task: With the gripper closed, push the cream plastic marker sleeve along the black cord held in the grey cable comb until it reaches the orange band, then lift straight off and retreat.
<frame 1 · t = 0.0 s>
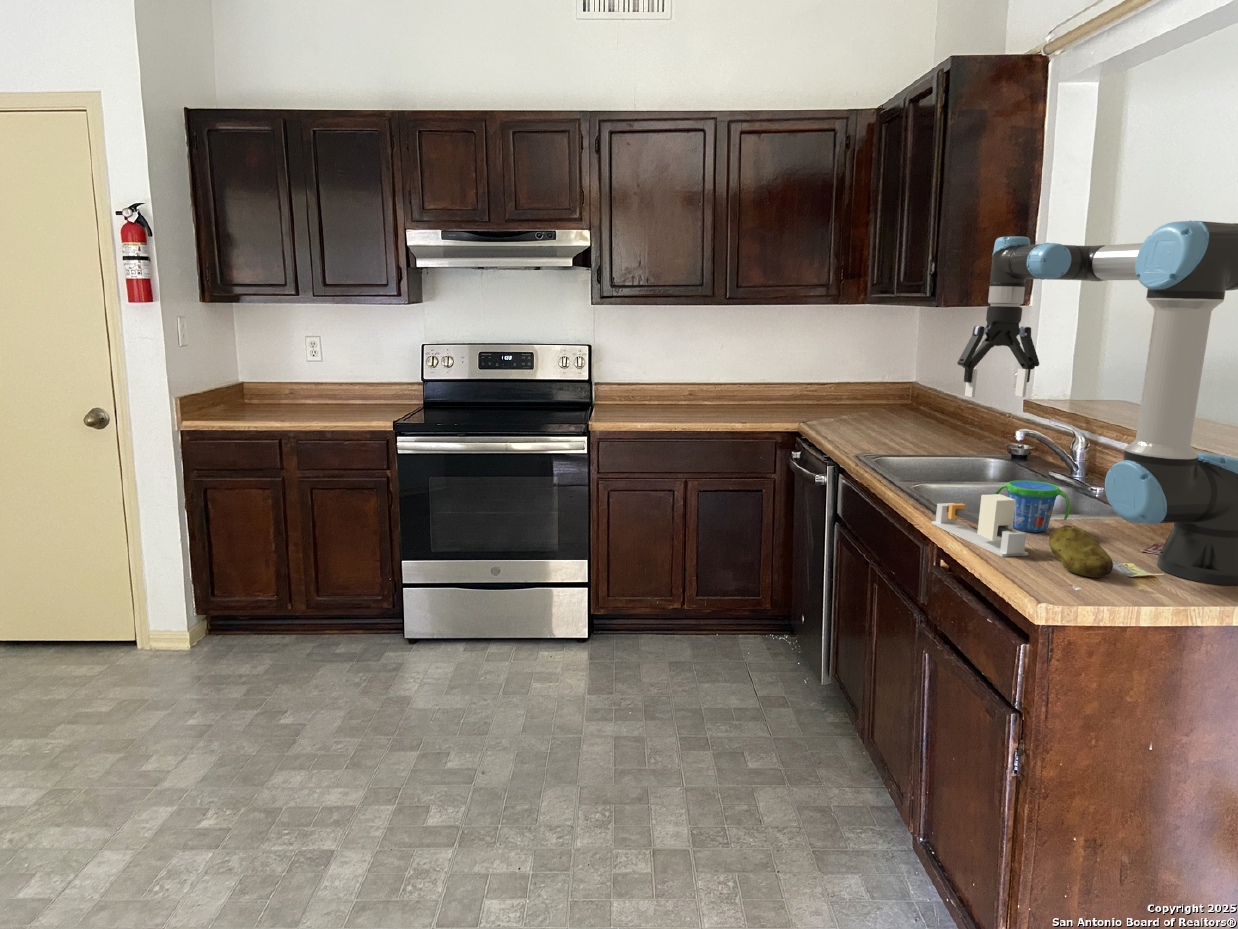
hand: (994, 396, 204), 28 cm above the worktop, fingers open, 13 cm apart
snack cup: (1028, 529, 194), on the worktop
cable comb: (976, 538, 185), on the worktop
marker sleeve: (996, 517, 178), point 6 cm above the worktop, slide at 0.0 cm
potato: (1076, 571, 165), on the worktop
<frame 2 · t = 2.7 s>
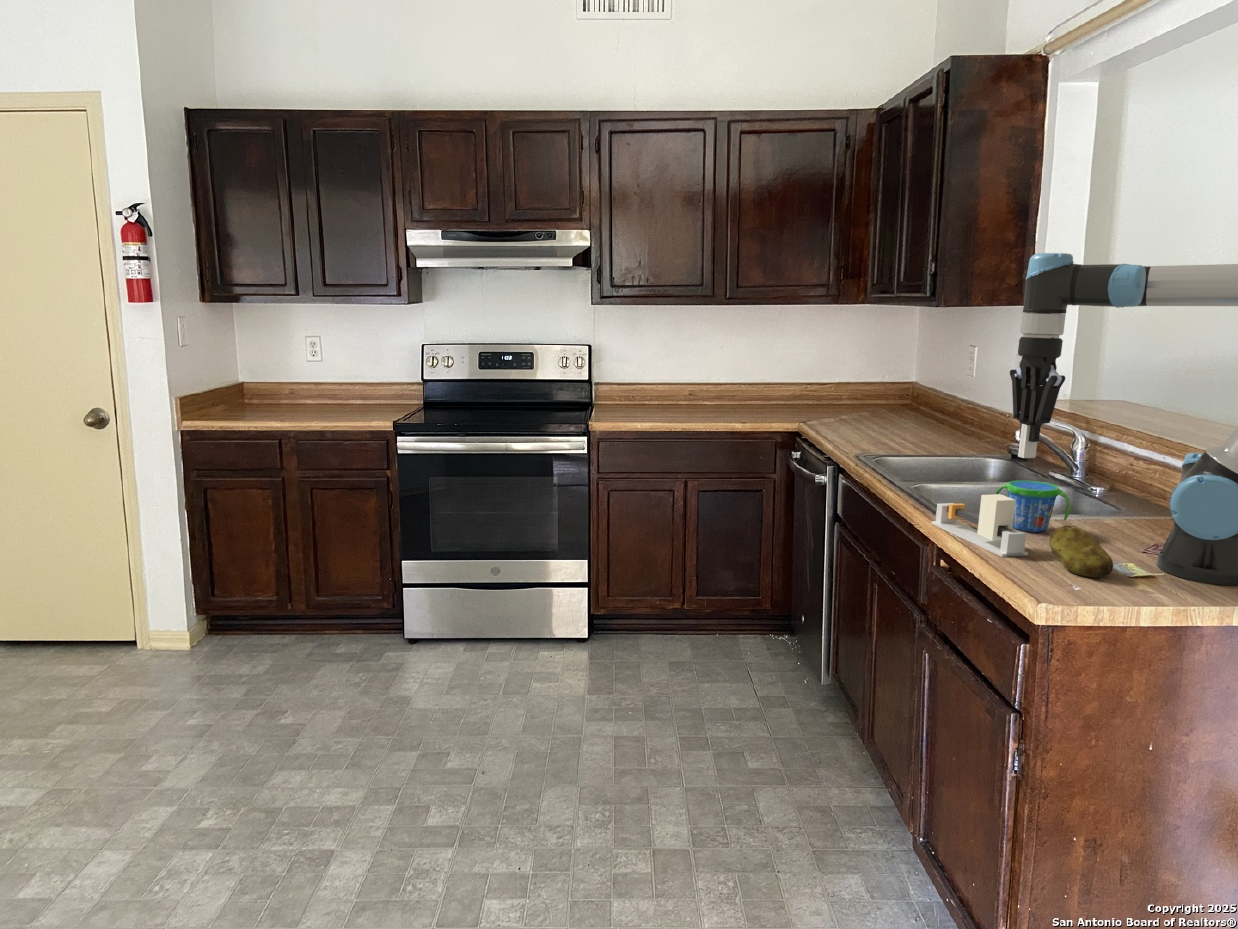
hand: (1026, 457, 169), 20 cm above the worktop, fingers closed
nothing on the worktop moved.
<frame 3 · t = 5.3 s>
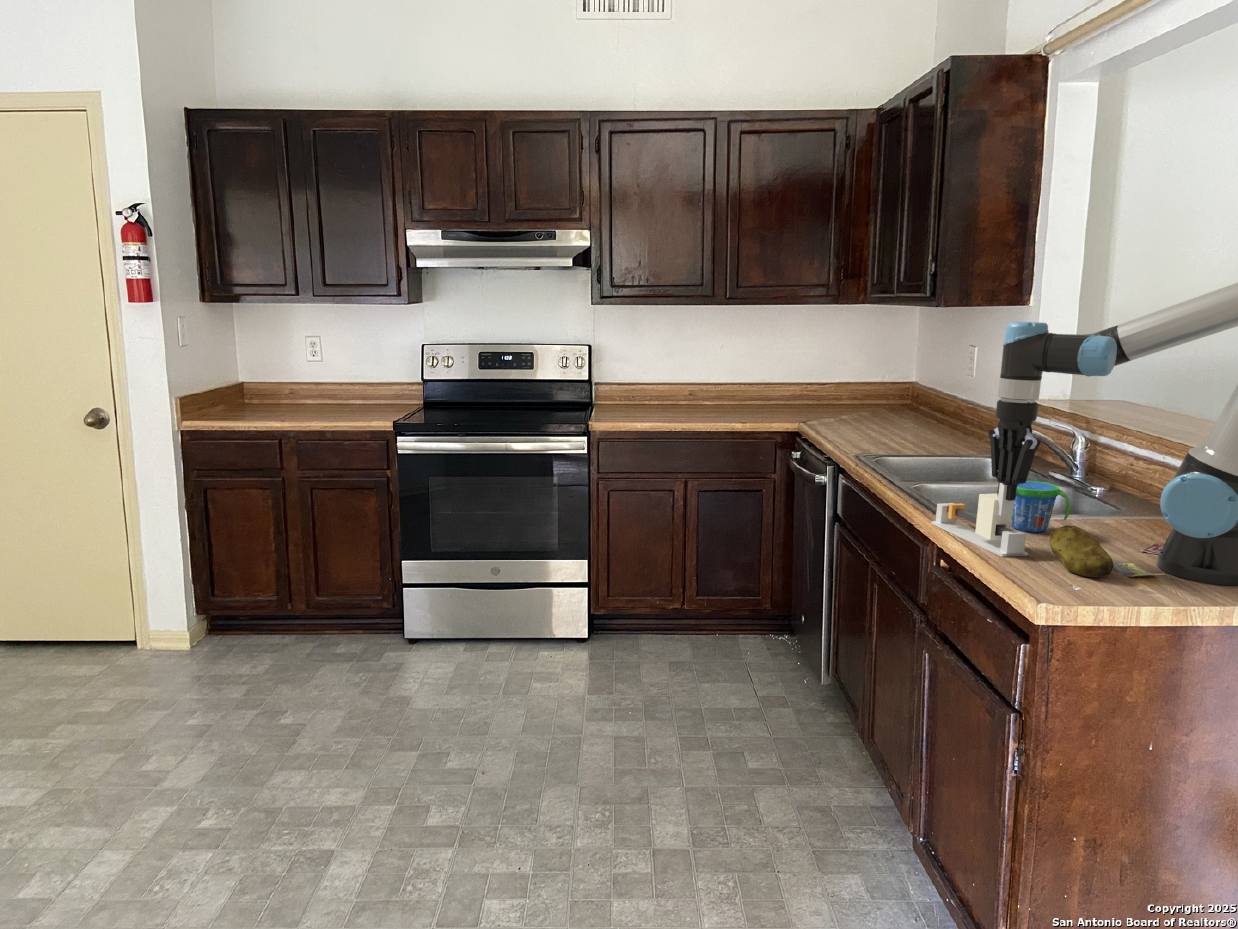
hand: (1004, 514, 176), 8 cm above the worktop, fingers closed
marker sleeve: (993, 516, 179), point 6 cm above the worktop, slide at 0.7 cm, touching gripper
everything else where it was.
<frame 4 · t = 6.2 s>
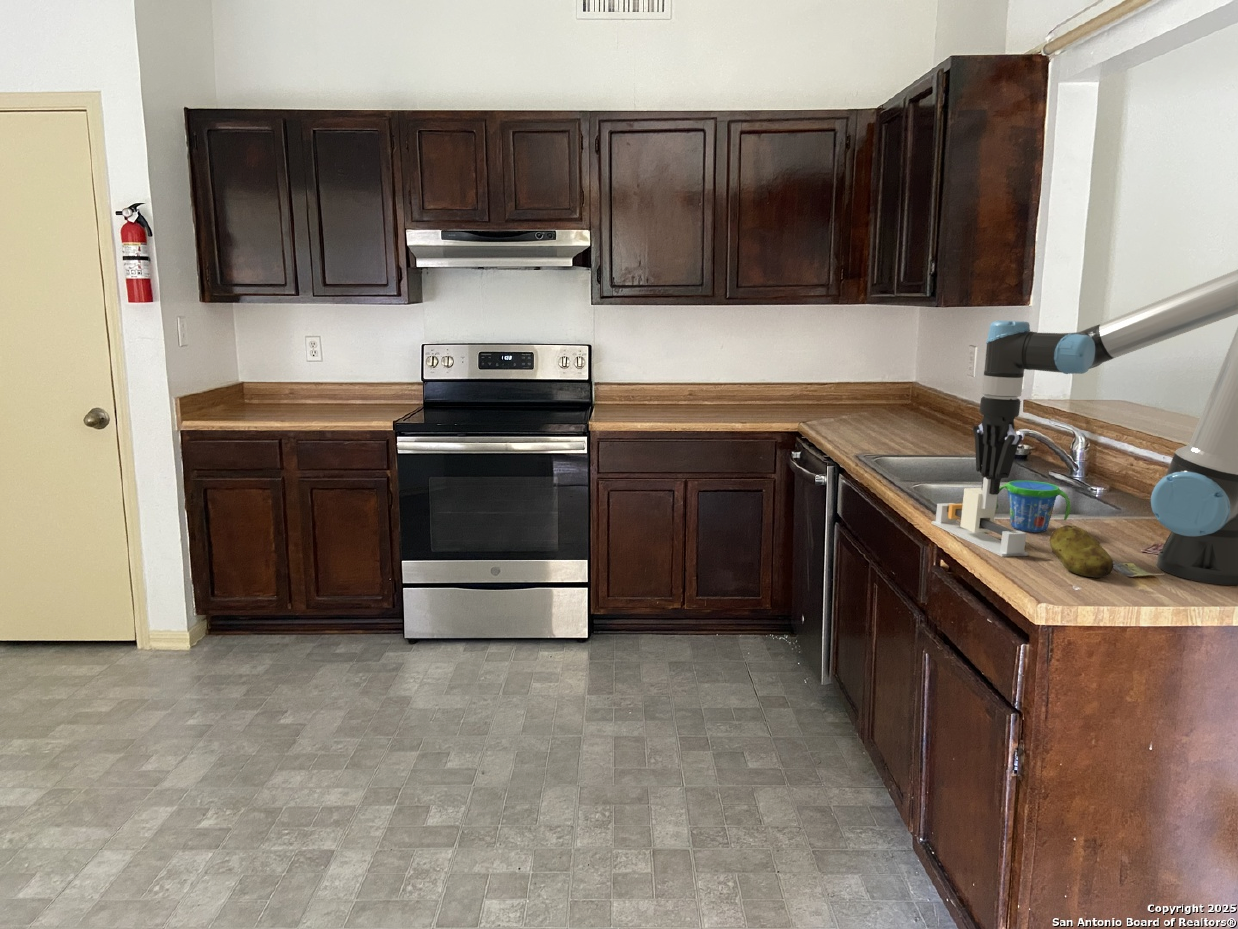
hand: (988, 508, 181), 8 cm above the worktop, fingers closed
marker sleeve: (978, 510, 184), point 6 cm above the worktop, slide at 6.0 cm, touching gripper
everything else where it was.
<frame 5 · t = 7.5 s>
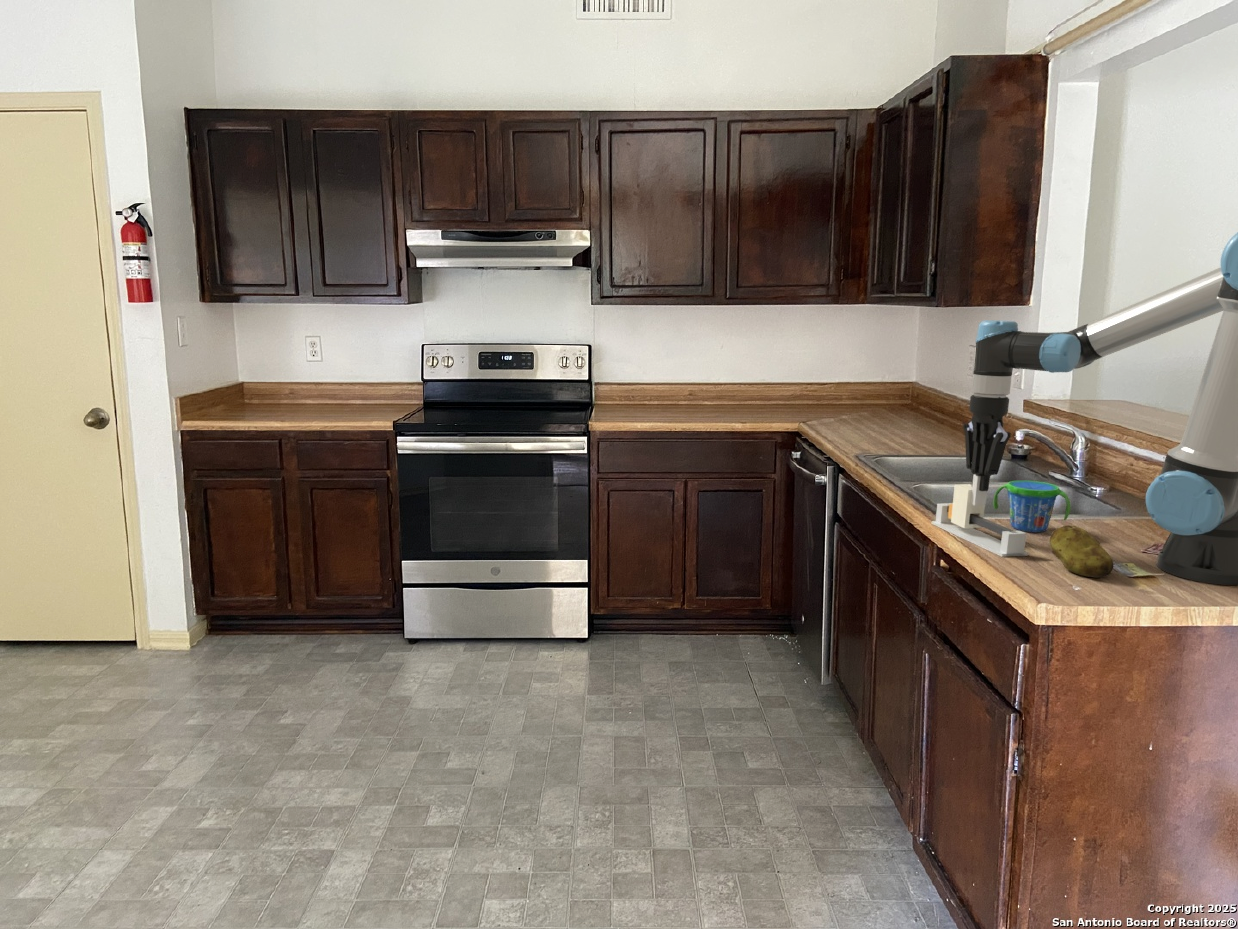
hand: (978, 504, 184), 7 cm above the worktop, fingers closed
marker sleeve: (968, 506, 187), point 6 cm above the worktop, slide at 9.5 cm, touching gripper
everything else where it was.
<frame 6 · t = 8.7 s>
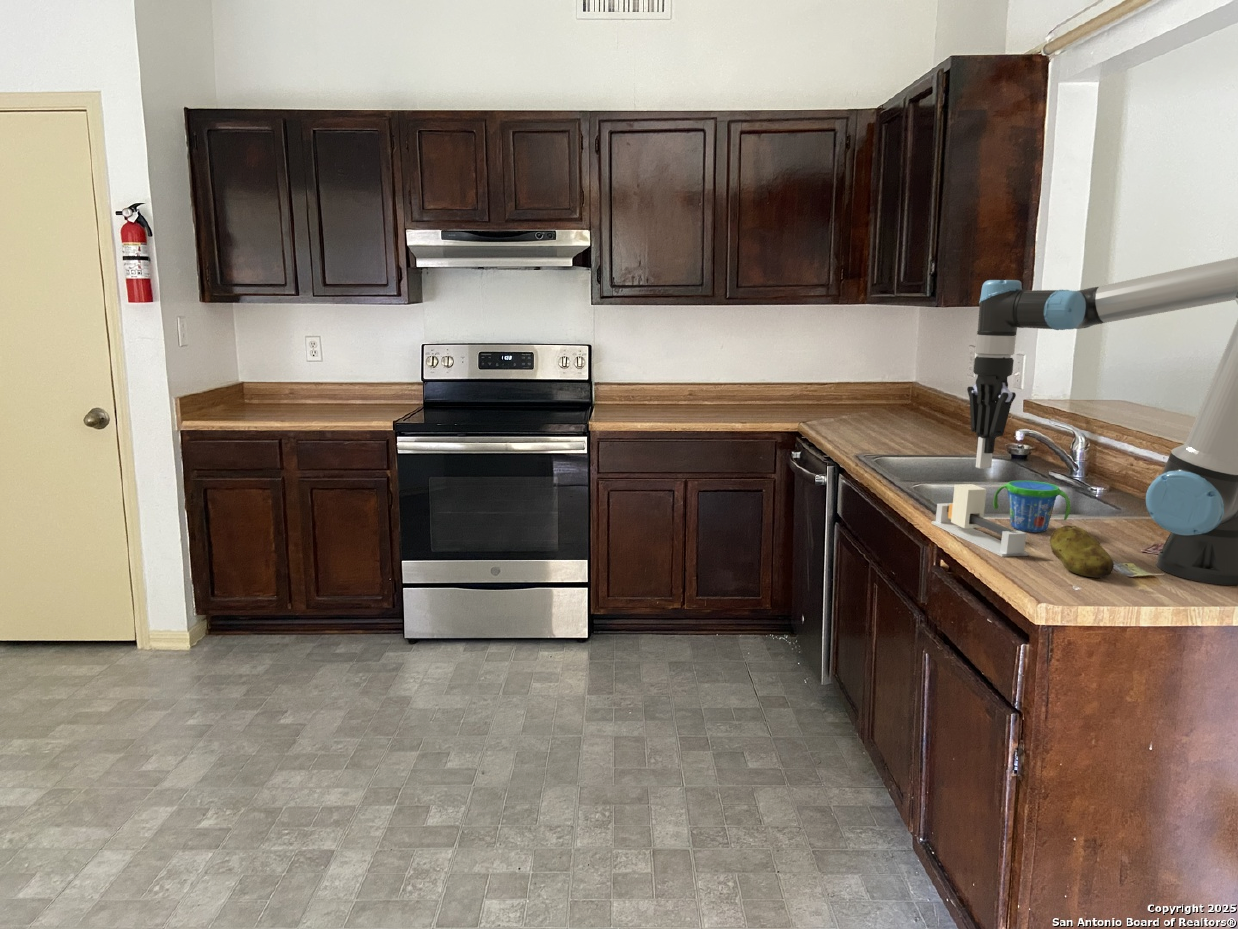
hand: (983, 467, 182), 16 cm above the worktop, fingers closed
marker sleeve: (968, 506, 187), point 6 cm above the worktop, slide at 9.5 cm
everything else where it was.
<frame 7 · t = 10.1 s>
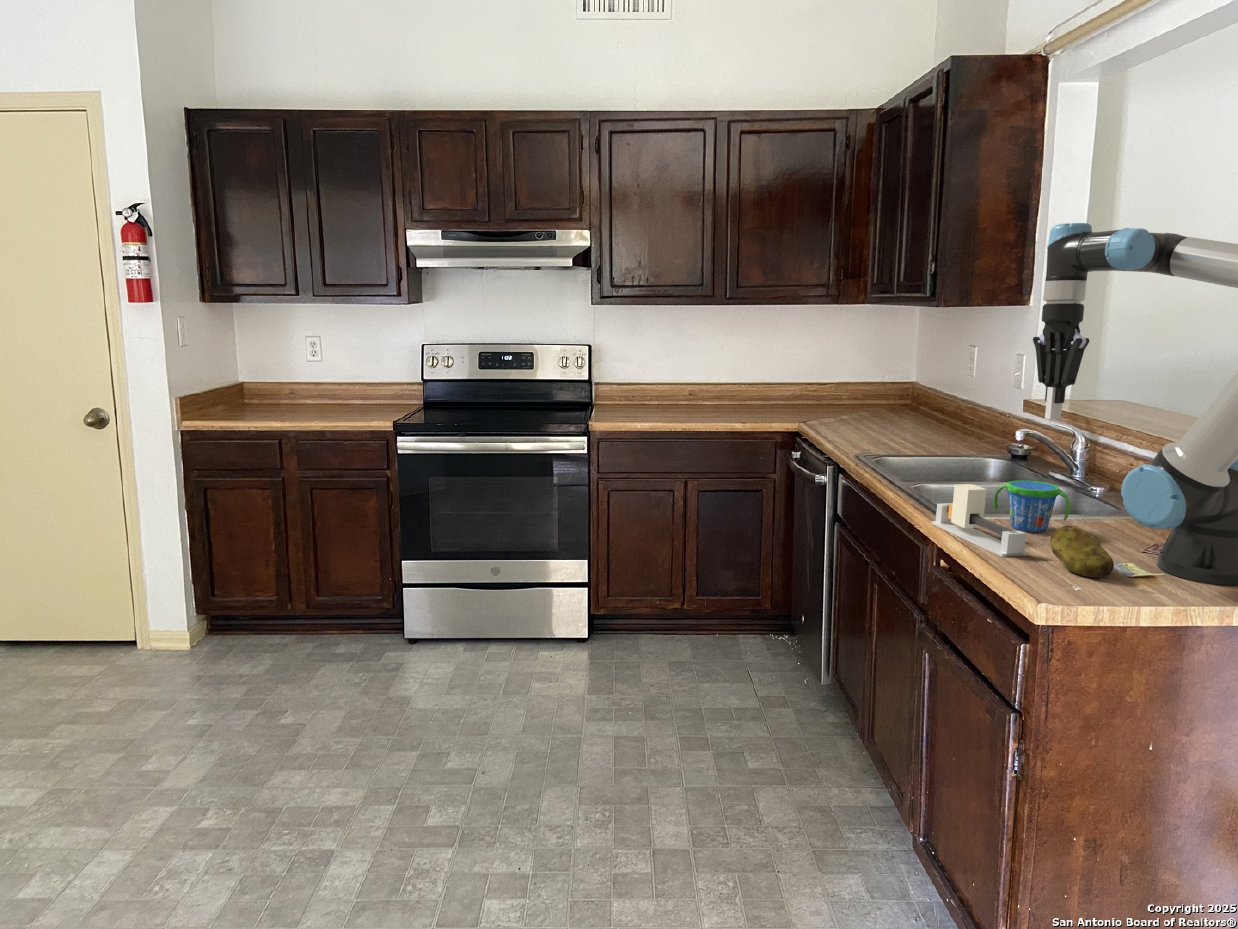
hand: (1052, 418, 178), 27 cm above the worktop, fingers closed
nothing on the worktop moved.
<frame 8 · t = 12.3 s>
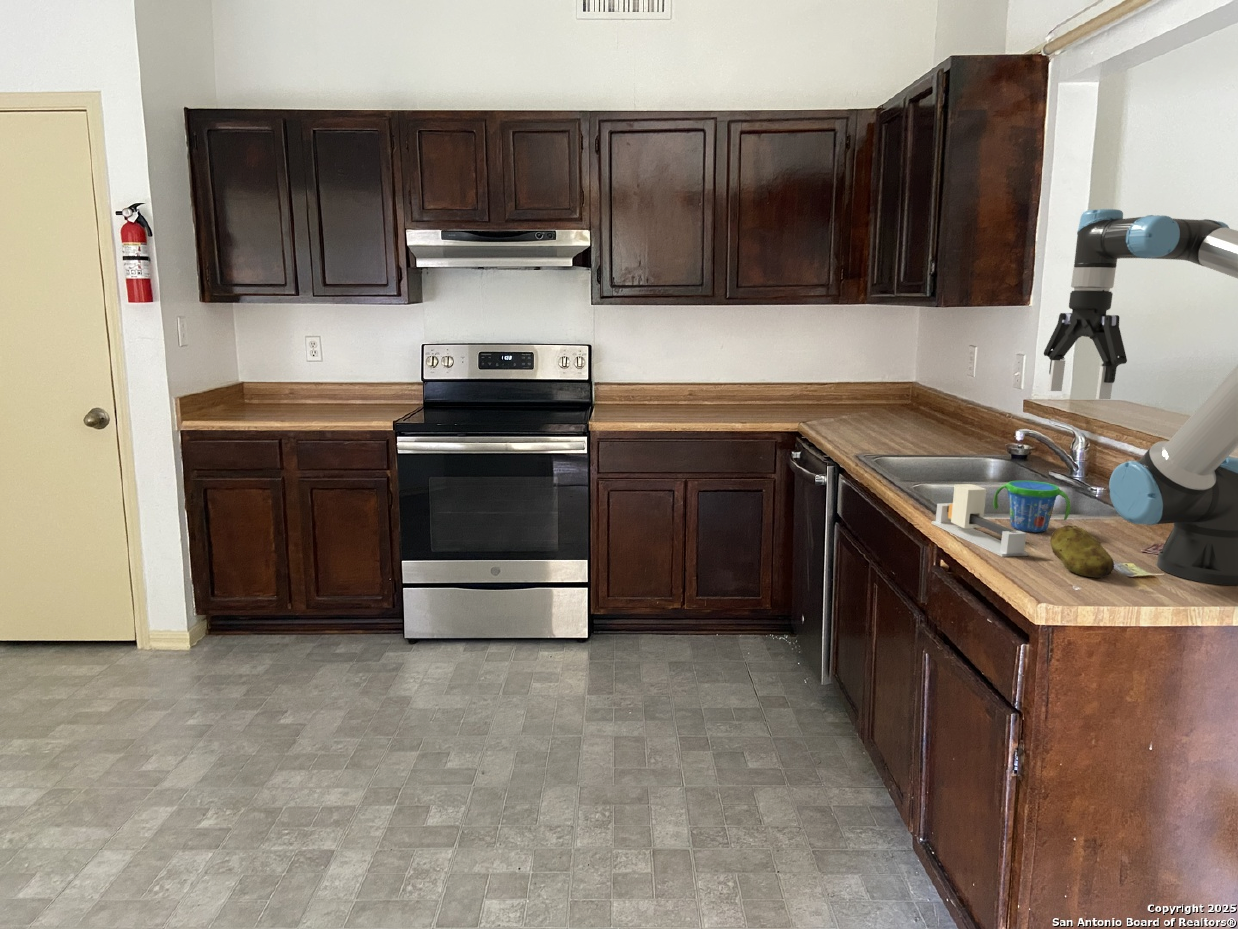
hand: (1078, 395, 177), 32 cm above the worktop, fingers open, 13 cm apart
nothing on the worktop moved.
at the end: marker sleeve slide at 9.5 cm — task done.
